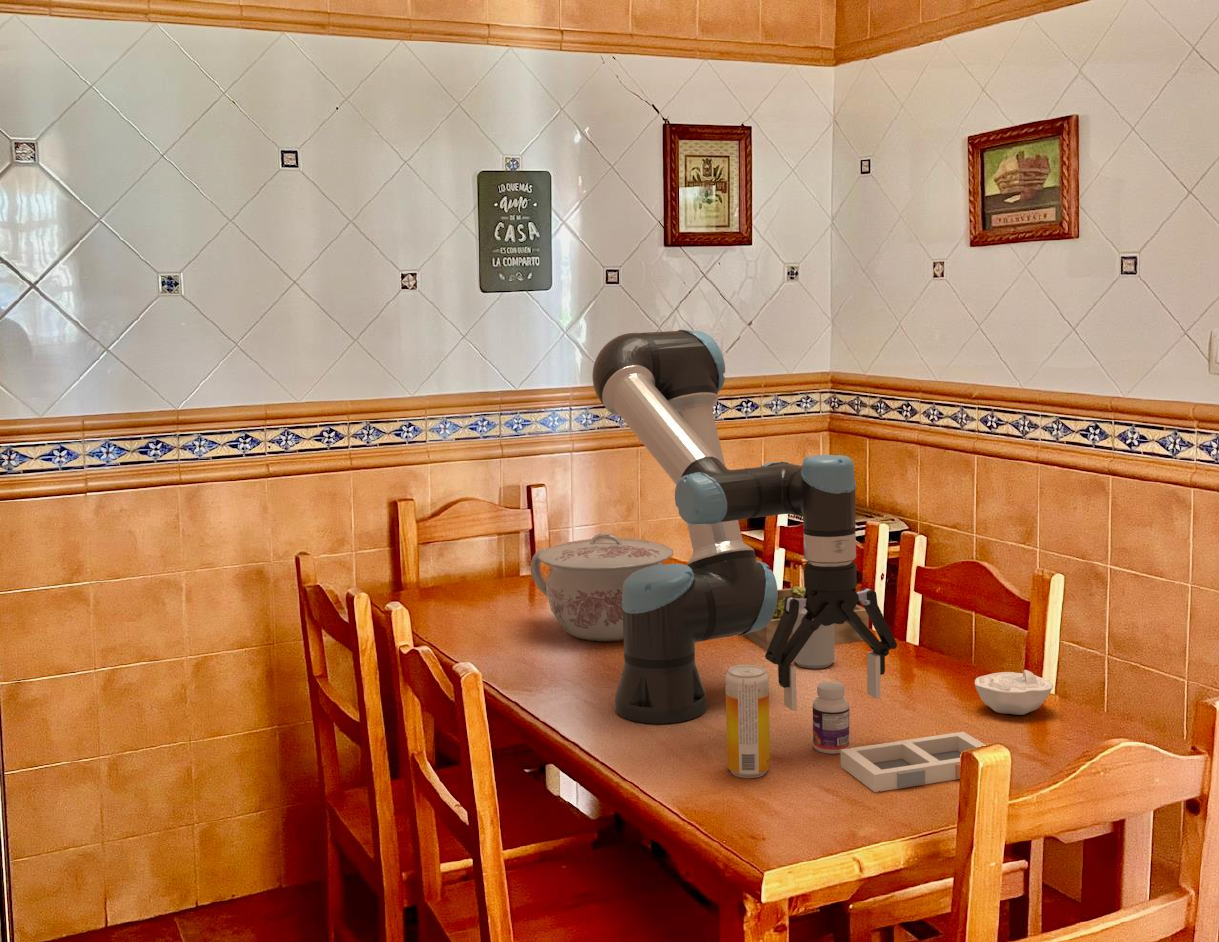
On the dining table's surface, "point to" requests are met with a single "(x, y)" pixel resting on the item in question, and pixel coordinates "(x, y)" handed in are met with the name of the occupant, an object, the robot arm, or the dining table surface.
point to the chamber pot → (593, 581)
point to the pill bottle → (830, 718)
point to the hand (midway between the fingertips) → (832, 702)
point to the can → (816, 646)
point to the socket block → (908, 761)
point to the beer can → (747, 721)
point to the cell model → (1013, 691)
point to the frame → (765, 635)
